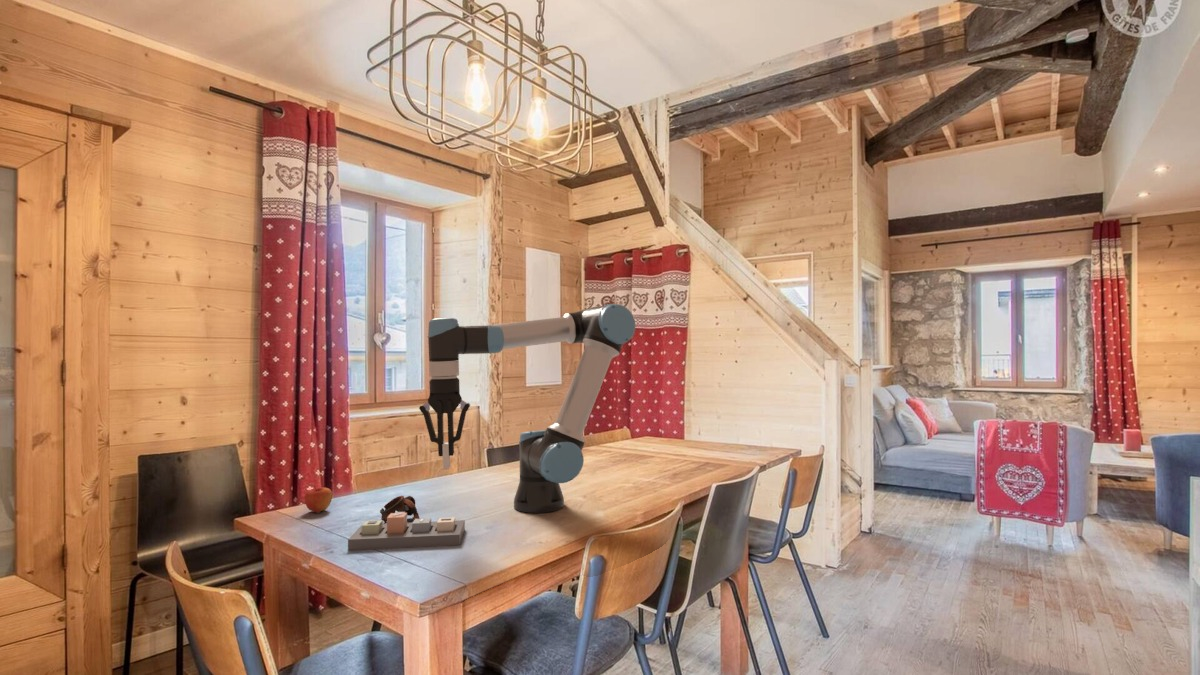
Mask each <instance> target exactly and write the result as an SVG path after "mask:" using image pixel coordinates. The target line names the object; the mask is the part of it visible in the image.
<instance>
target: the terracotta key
mask: <svg viewBox="0 0 1200 675" xmlns="http://www.w3.org/2000/svg"><path fill="white" fill-rule="evenodd" d="M407 523H408V515H407V513H405V512H395V513H391V514H390V515H389V516H388V517H387V522H386V524H387V533H404V532H405V531H406V529H407Z"/></svg>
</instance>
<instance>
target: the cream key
mask: <svg viewBox="0 0 1200 675" xmlns="http://www.w3.org/2000/svg"><path fill="white" fill-rule="evenodd" d="M455 521H456V516H450V517H439V518H438V519H437V531H455Z"/></svg>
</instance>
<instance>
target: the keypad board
mask: <svg viewBox="0 0 1200 675" xmlns="http://www.w3.org/2000/svg"><path fill="white" fill-rule="evenodd" d="M437 521H438V520H437ZM437 521H431V531H430V532H412V523H413V521H411V522H407V529H406V531H405V532H404V533H387V523H383V531H382V532H381V533H380V534H363V535H362V525H363V524H361V525H360V527H359V528H357V530H356V531H355V532H354V533H352V534H351V536H350V537H349V538H348V539H347V551H358V550H362V551H363V550H380V549H381V550H382V549H400V548H401V549H402V548H403V549H404V548H425V547H426V548H427V547H443V546H444V547H445V546H461V542H462V538H463V535H464V533H465V530H466V529H465V528H466V525H465V524H466V520H464V519H463V520H455V531H437Z"/></svg>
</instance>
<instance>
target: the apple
mask: <svg viewBox="0 0 1200 675" xmlns="http://www.w3.org/2000/svg"><path fill="white" fill-rule="evenodd" d="M332 499H333V492H332V490H331V489H330V488H328V487H321V486H320V487H316V485H314V488H311V489H309V490H307V491H306V492H305V495H304V504H305V506H306V508H307V509H308V510H310V511H311V512H313V513H317V514H318V513H321V512H324V511H326V510H327V509H328V508H329V506H330V504H331V502H332Z"/></svg>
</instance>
